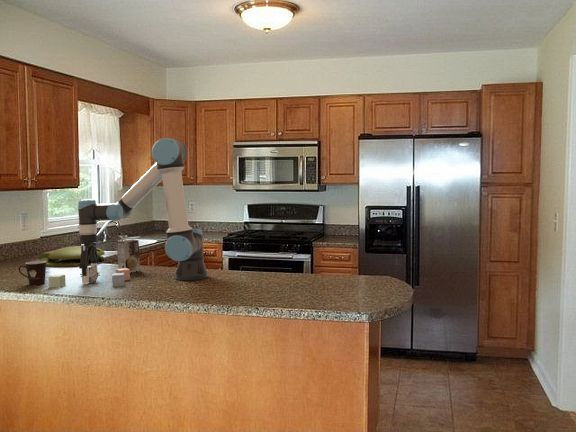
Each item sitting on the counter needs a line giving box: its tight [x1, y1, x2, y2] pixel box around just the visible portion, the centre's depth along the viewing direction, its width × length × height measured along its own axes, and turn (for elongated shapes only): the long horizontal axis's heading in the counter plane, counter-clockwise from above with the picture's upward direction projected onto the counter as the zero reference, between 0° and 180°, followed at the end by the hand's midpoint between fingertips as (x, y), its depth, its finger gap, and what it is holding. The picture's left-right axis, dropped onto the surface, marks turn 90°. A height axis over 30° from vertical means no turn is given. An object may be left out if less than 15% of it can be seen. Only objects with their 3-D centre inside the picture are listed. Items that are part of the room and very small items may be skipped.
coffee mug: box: [17, 260, 47, 286], centre depth 246 cm, size 12×9×10 cm
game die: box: [79, 265, 101, 285], centre depth 245 cm, size 9×8×10 cm
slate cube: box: [111, 272, 125, 287], centre depth 240 cm, size 5×5×5 cm
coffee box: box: [116, 239, 141, 274], centre depth 273 cm, size 9×6×16 cm
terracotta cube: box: [115, 268, 131, 281], centre depth 253 cm, size 5×5×5 cm
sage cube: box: [48, 274, 67, 288], centre depth 239 cm, size 5×5×5 cm
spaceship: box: [36, 245, 105, 268], centre depth 309 cm, size 35×31×10 cm
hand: (90, 280), depth 245 cm, fingers open, 13 cm apart
